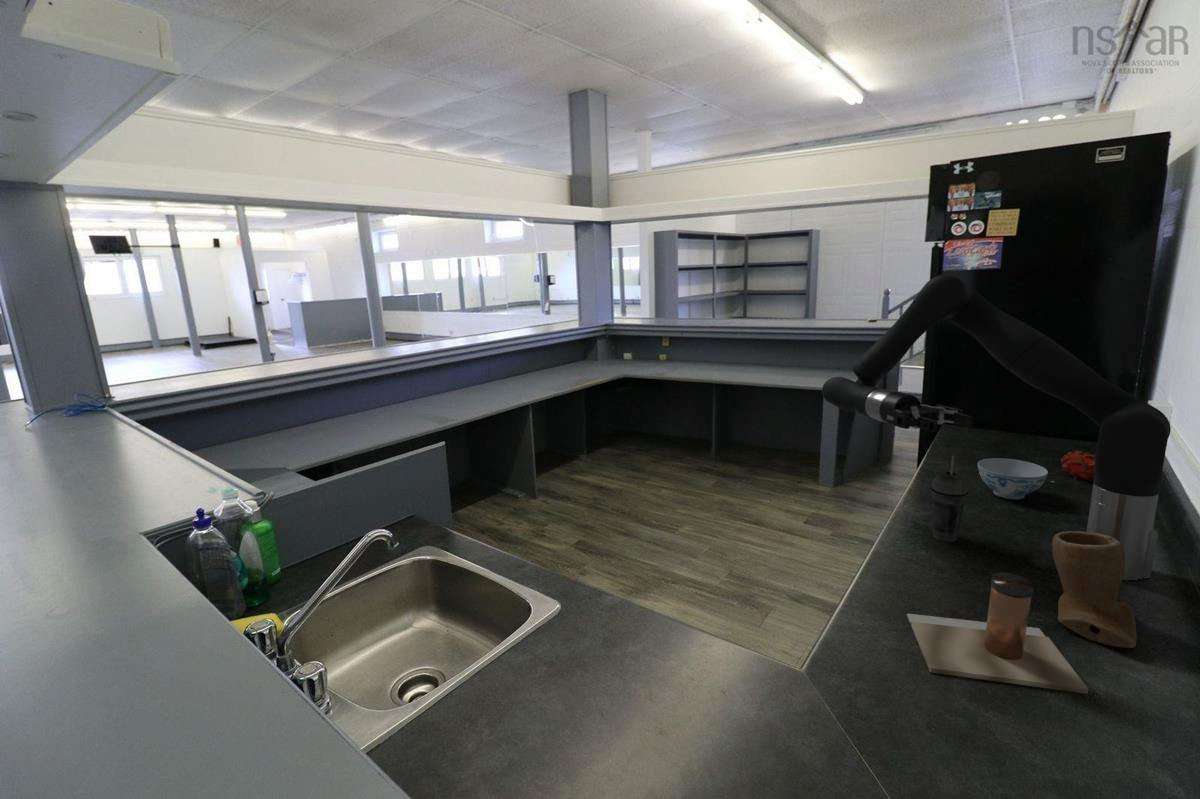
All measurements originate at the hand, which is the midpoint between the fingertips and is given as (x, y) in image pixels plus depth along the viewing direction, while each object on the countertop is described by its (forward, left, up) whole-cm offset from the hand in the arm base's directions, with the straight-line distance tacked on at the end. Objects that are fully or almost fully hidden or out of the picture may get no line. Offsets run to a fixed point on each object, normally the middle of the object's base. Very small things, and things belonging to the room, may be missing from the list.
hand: (953, 424), depth 110 cm
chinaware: (-27, -43, -30) cm, 59 cm away
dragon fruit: (-51, -59, -30) cm, 83 cm away
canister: (-1, +29, -29) cm, 41 cm away
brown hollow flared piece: (-18, +17, -30) cm, 39 cm away
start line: (+1, +22, -30) cm, 37 cm away
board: (+1, +30, -30) cm, 43 cm away
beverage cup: (-4, -13, -30) cm, 33 cm away
